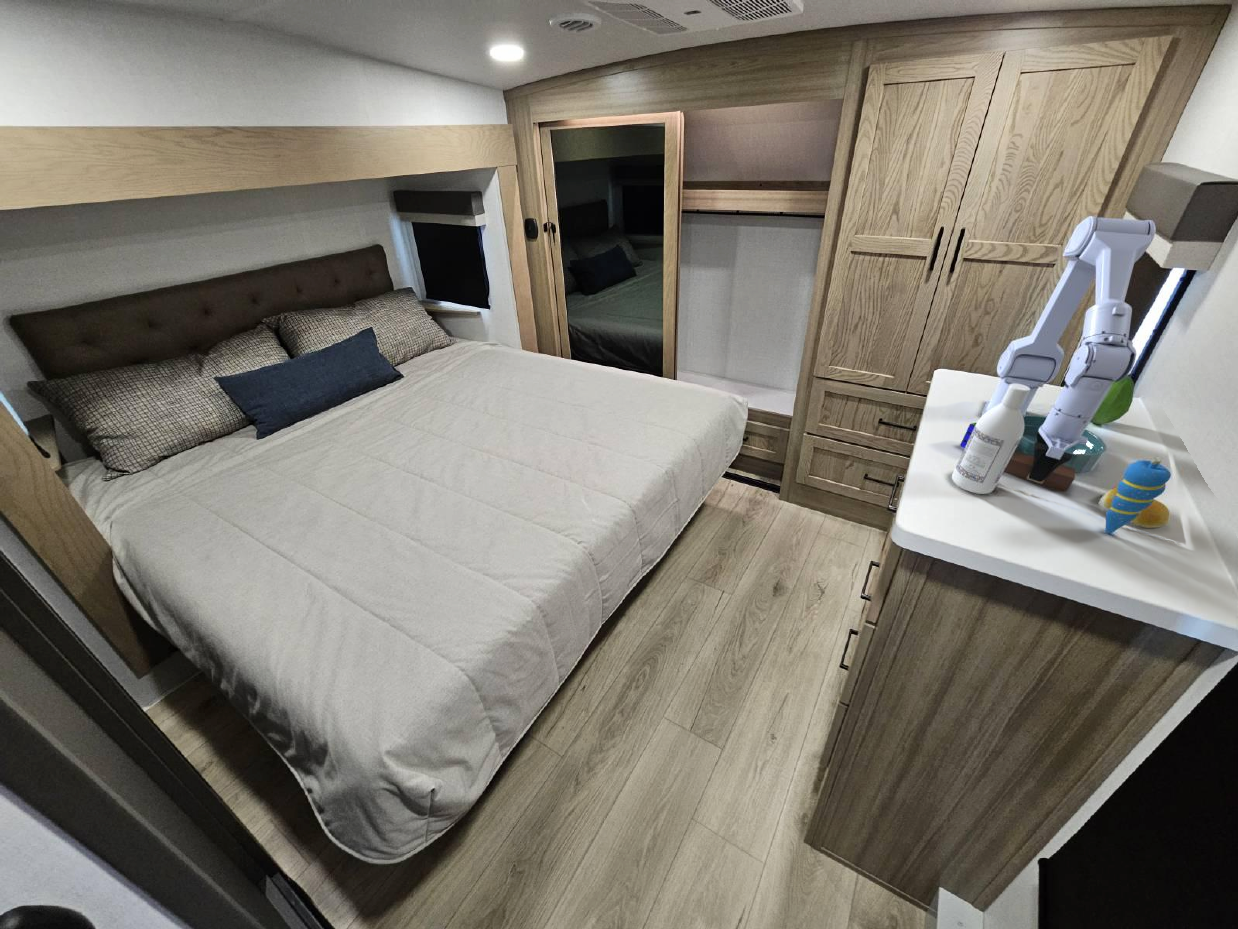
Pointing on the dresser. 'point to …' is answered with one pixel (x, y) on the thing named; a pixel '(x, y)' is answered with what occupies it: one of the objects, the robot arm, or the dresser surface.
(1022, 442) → the bowl
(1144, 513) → the bread roll
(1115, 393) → the avocado
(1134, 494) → the ornament
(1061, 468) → the snack bar
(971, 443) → the bath foam
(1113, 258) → the robot arm
